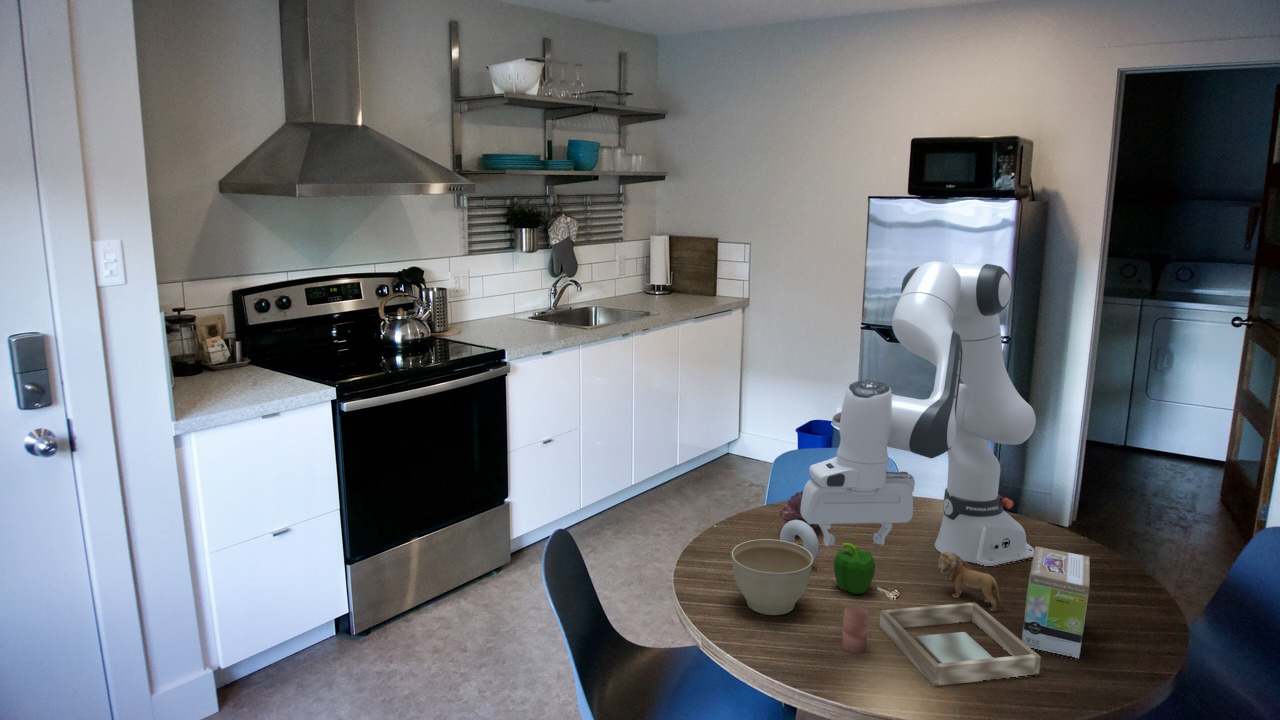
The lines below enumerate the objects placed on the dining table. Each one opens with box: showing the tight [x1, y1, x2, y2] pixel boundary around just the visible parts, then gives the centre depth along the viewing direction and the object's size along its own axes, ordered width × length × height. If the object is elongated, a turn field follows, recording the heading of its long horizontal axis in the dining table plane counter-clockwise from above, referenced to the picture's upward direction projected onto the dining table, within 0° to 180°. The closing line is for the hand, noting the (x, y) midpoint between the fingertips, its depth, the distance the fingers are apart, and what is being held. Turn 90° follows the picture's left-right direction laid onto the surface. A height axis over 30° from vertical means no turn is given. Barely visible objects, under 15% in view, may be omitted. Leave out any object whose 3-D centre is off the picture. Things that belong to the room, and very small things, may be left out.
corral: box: [879, 601, 1042, 687], centre depth 154 cm, size 20×20×4 cm
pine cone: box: [779, 490, 820, 531], centre depth 208 cm, size 18×10×10 cm, turn 141°
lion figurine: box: [937, 551, 1009, 612], centre depth 172 cm, size 15×5×9 cm, turn 50°
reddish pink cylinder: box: [841, 605, 870, 655], centre depth 154 cm, size 4×4×7 cm
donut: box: [779, 520, 820, 560], centre depth 189 cm, size 10×3×10 cm, turn 41°
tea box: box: [1021, 546, 1091, 659], centre depth 158 cm, size 15×10×15 cm, turn 152°
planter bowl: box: [731, 538, 814, 616], centre depth 169 cm, size 16×16×11 cm
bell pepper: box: [833, 542, 876, 595], centre depth 177 cm, size 8×8×10 cm
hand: (853, 544), depth 152 cm, fingers open, 8 cm apart
